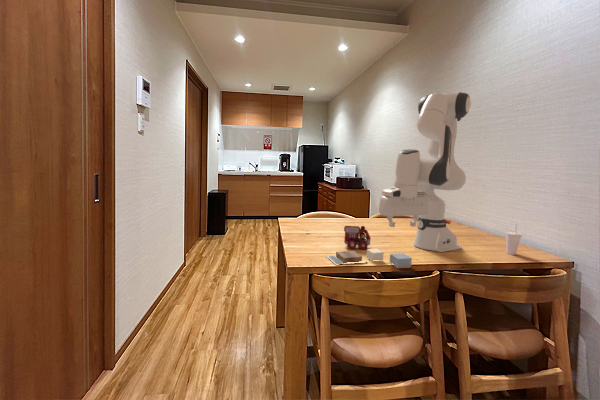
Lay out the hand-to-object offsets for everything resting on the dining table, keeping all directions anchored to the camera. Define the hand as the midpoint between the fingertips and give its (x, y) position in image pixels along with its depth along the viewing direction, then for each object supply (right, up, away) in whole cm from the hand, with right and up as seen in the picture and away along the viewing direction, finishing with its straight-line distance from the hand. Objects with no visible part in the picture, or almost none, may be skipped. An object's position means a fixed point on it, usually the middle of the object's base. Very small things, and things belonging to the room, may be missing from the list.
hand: (402, 226), depth 126 cm
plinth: (-20, -14, +7) cm, 26 cm away
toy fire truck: (-14, -12, +24) cm, 30 cm away
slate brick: (0, -16, +2) cm, 16 cm away
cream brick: (-9, -15, +8) cm, 19 cm away
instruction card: (-21, -14, +7) cm, 26 cm away
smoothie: (+58, -15, +22) cm, 63 cm away
